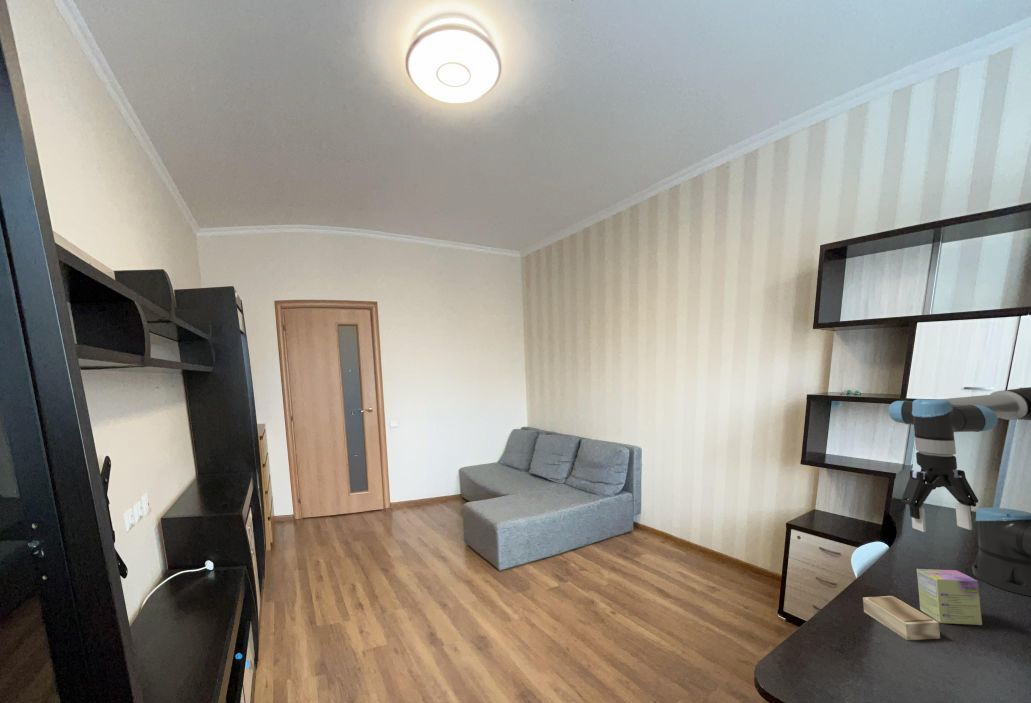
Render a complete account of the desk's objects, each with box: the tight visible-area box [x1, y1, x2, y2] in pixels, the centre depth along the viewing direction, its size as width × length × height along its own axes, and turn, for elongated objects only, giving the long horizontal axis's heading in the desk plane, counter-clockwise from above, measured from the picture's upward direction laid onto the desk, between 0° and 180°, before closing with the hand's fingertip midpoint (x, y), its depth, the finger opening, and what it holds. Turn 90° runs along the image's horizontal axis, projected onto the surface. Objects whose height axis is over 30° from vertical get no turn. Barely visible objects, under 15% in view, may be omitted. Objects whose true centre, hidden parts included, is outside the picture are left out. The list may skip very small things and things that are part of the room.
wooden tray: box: [862, 595, 941, 641], centre depth 98 cm, size 9×11×4 cm
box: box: [916, 568, 983, 626], centre depth 100 cm, size 10×6×12 cm, turn 84°
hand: (941, 529), depth 101 cm, fingers open, 13 cm apart
